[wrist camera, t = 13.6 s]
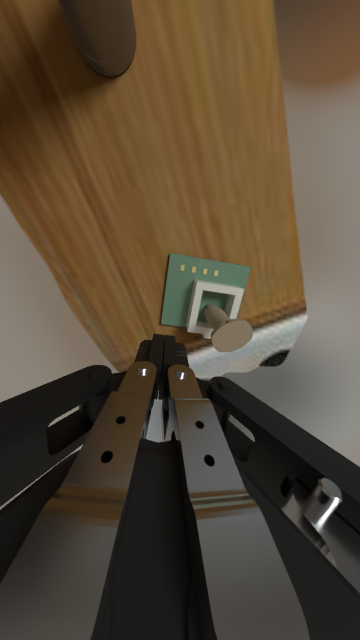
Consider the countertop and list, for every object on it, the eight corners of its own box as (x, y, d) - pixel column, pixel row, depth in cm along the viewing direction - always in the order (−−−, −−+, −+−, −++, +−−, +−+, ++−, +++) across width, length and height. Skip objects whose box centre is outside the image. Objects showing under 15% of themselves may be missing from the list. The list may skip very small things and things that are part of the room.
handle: (225, 313, 41) (256, 341, 27) (201, 324, 42) (218, 357, 28) (219, 295, 40) (247, 315, 26) (193, 306, 40) (207, 332, 26)
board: (170, 253, 37) (170, 253, 36) (249, 266, 39) (251, 267, 38) (161, 322, 42) (160, 324, 41) (231, 331, 44) (232, 333, 43)
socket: (194, 279, 38) (197, 281, 35) (237, 286, 39) (244, 289, 36) (185, 329, 42) (186, 335, 38) (224, 333, 43) (229, 341, 40)
